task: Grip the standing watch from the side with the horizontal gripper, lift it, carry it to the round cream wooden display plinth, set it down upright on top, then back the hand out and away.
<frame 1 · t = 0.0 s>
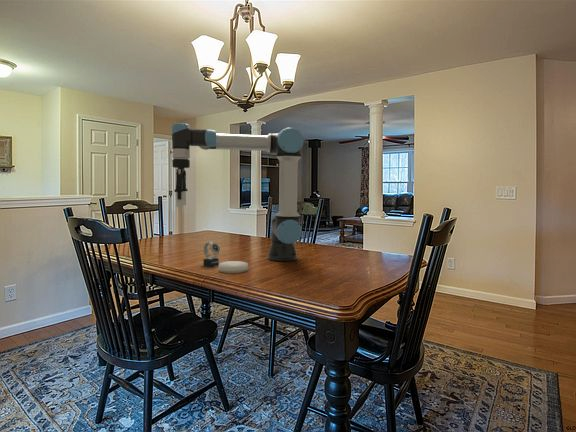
hand: (181, 206, 166), 28 cm above the table, tool pointing down, fingers open, 13 cm apart
display plinth: (233, 269, 164), on the table
watch: (211, 265, 172), on the table
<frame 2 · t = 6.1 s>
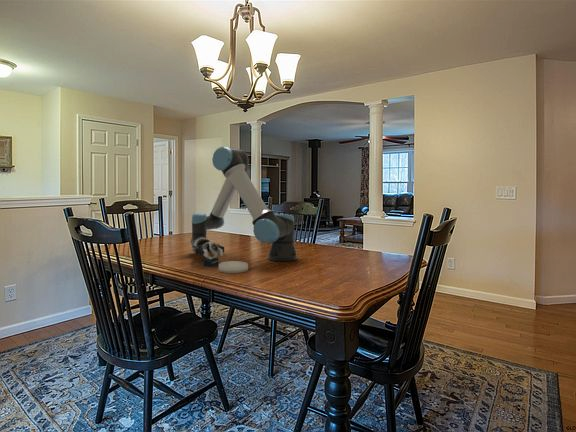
hand: (214, 253, 167), 7 cm above the table, tool horizontal, fingers closed on watch, 6 cm apart
watch: (211, 265, 172), on the table, touching gripper
when the fingers open (10 cm above the table, at t = 11.8 s): watch moves 2 cm, resting on display plinth.
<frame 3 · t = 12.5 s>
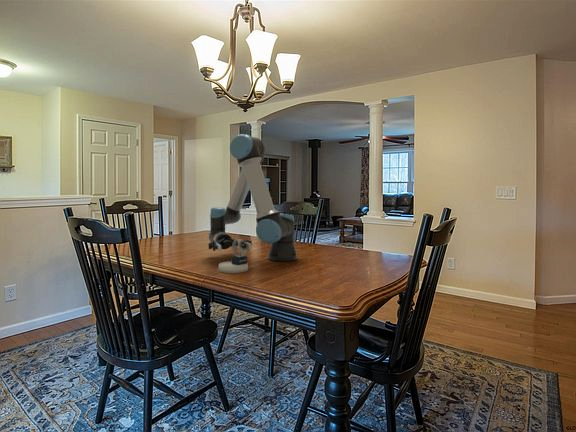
hand: (235, 247, 160), 11 cm above the table, tool horizontal, fingers open, 13 cm apart
watch: (239, 264, 165), point 2 cm above the table, touching display plinth, gripper
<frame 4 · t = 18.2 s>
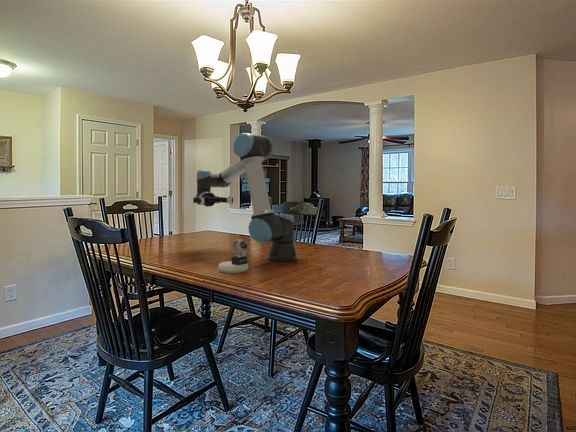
hand: (217, 201, 176), 30 cm above the table, tool horizontal, fingers open, 13 cm apart
watch: (239, 264, 165), point 2 cm above the table, touching display plinth
at the end: watch inside the target area on the display plinth (2.9 cm from its centre), point 2.3 cm above the display plinth's base; watch tilted 0°; the gripper is holding nothing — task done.
